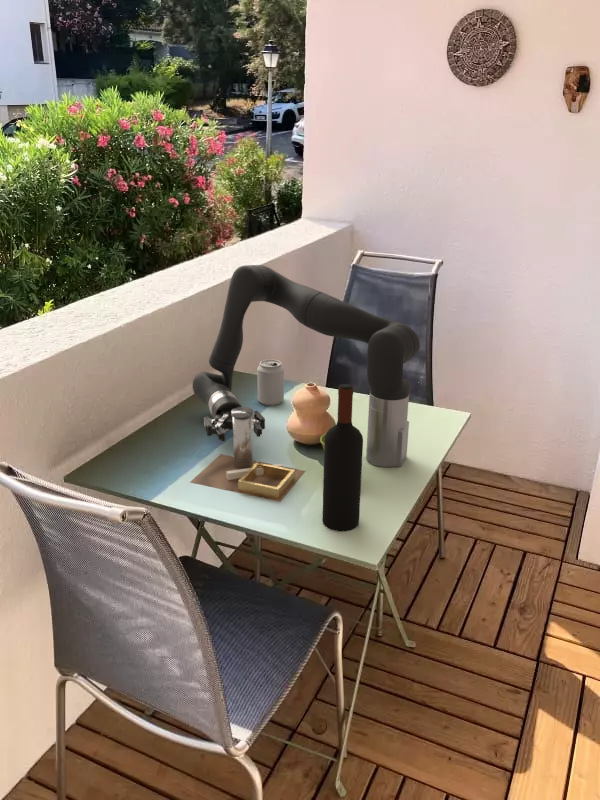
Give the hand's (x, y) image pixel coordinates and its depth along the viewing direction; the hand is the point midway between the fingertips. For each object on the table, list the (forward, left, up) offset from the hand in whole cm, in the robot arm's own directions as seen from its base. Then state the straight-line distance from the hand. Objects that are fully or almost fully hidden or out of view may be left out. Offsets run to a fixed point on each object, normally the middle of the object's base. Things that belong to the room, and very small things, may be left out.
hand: (241, 435), depth 169 cm
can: (+10, -39, -8) cm, 41 cm away
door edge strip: (-5, +4, -8) cm, 11 cm away
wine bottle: (-29, +14, -8) cm, 34 cm away
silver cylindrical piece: (-1, +1, -7) cm, 7 cm away
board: (-4, +6, -8) cm, 11 cm away
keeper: (-10, +8, -8) cm, 15 cm away
